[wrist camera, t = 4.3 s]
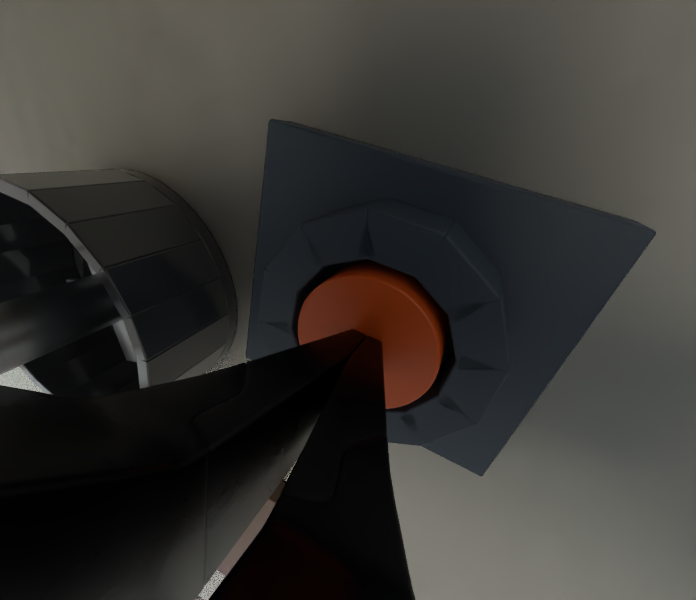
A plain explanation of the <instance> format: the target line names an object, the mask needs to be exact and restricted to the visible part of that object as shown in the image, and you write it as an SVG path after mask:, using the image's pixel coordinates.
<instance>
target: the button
mask: <svg viewBox="0 0 696 600" xmlns="http://www.w3.org/2000/svg"><path fill="white" fill-rule="evenodd" d="M351 329H355V330H357V331H359V332H362V333H364V334H366V336H371V337H373V338H375V339H378V340H380V341H381V342H382V347H383V365H384V384H385V403H386V409H389V408H397V407H401V406H404V405H407V404H409V403H412V402H413V401H415V400H417V399H418V398H420V397H421V396H422V395H423V394H425V393H426V392H427V391H428V389H429V388H430V387H431V386H432V384H433V382H434V381H435V379H436V377H437V374H438V371H439V368H440V364H441V361H442V357H443V354H444V350H445V346H446V343H447V339H448V334H449V320H448V315H447V314H446V312H445V311H444V310H443V309H442V308H441V307H440V306H439V304H438V303H437V302H436V301H435V300H434V299H433V298H432V296H431V295H430V294H429V293H428V292H427V291H426V290H425V288H424V287H423V286H422V285H421V284H420V283H419V282H418V280H417V279H416V278H415V277H413V276H411V275H408V274H406V273H403V272H400V271H398V270H395V269H392V268H390V267H387V266H385V265H382V264H379V263H377V262H374V261H371V260H369V259H364V260H358V261H353V262H351V263H349V264H347V265H346V266H344V267H343V268H341V269H340V270H339V271H337V272H336V273H335V274H333V275H332V276H331V277H329V278H328V279H327V280H325V281H324V282H322V283H321V284H320V285H319V286H317V287H316V288H315V289H314V290H313V291H312V292H311V293H310V294H309V295H308V297H307V298H306V300H305V301H304V303H303V305H302V308H301V310H300V314H299V318H298V339H299V344H300V345H303V344H306V343H309V342H312V341H315V340H319V339H322V338H325V337H328V336H331V335H335V334H338V333H341V332H344V331H347V330H351Z"/></svg>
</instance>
